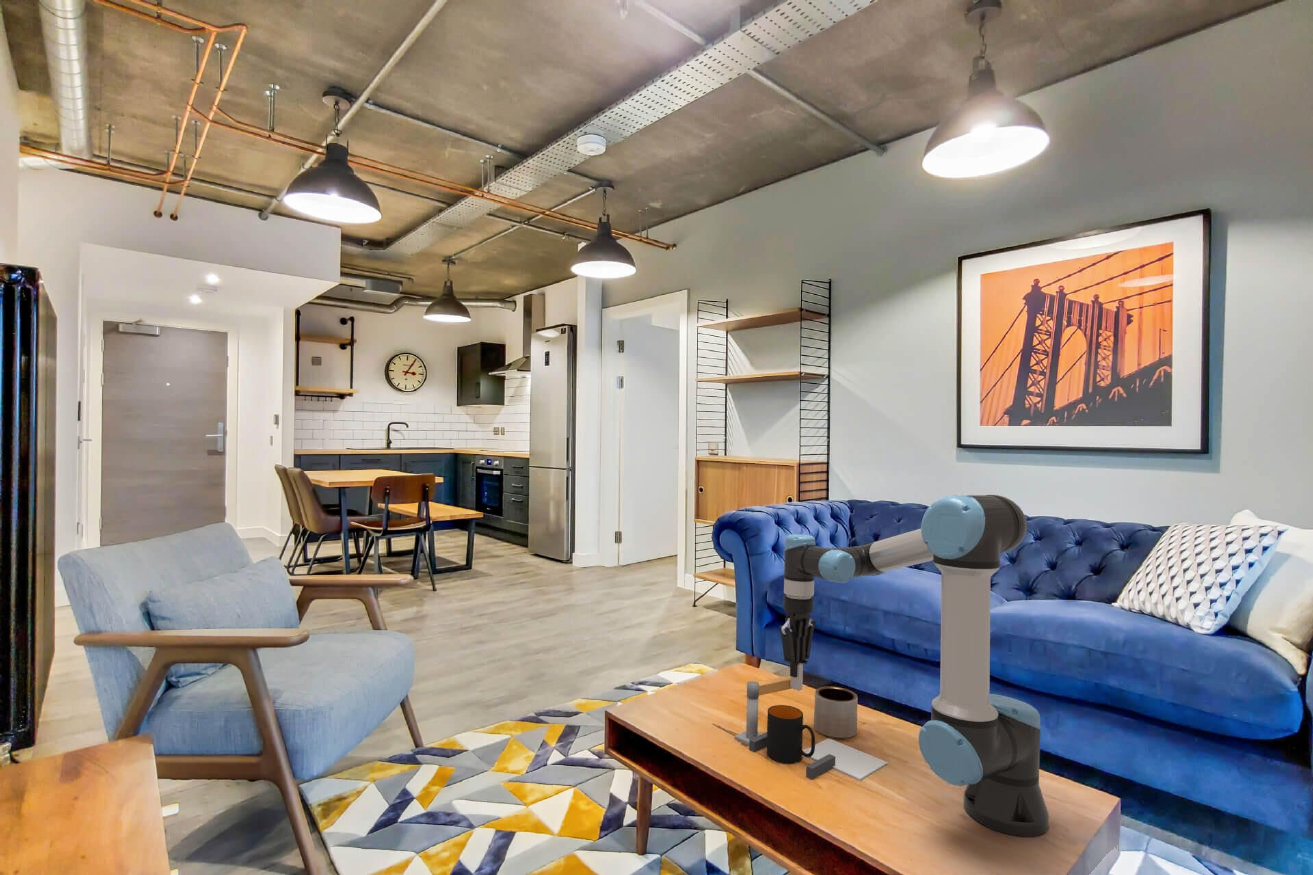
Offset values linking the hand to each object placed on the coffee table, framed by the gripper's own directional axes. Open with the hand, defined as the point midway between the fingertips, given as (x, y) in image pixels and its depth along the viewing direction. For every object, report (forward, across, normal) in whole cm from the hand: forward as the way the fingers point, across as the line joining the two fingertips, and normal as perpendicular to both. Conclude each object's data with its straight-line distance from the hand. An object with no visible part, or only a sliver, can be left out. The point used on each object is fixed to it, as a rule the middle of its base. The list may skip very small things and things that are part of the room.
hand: (796, 688), depth 166 cm
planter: (+12, -11, +5) cm, 17 cm away
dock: (+12, +11, +4) cm, 16 cm away
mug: (+12, +11, +7) cm, 18 cm away
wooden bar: (+1, +5, -4) cm, 6 cm away
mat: (+12, +1, +15) cm, 19 cm away
